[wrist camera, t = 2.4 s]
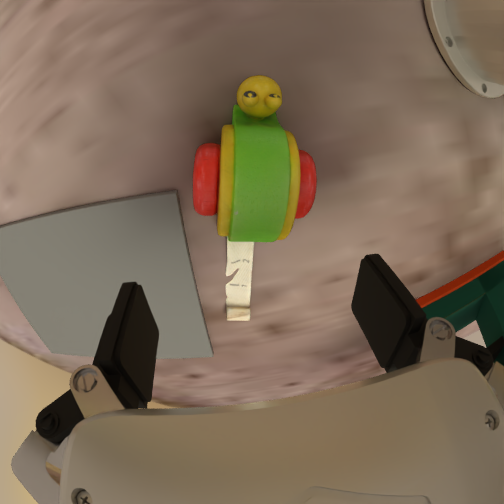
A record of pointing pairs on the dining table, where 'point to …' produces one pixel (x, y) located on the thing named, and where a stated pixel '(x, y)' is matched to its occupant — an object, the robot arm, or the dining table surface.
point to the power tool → (474, 303)
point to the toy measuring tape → (252, 184)
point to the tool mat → (105, 273)
